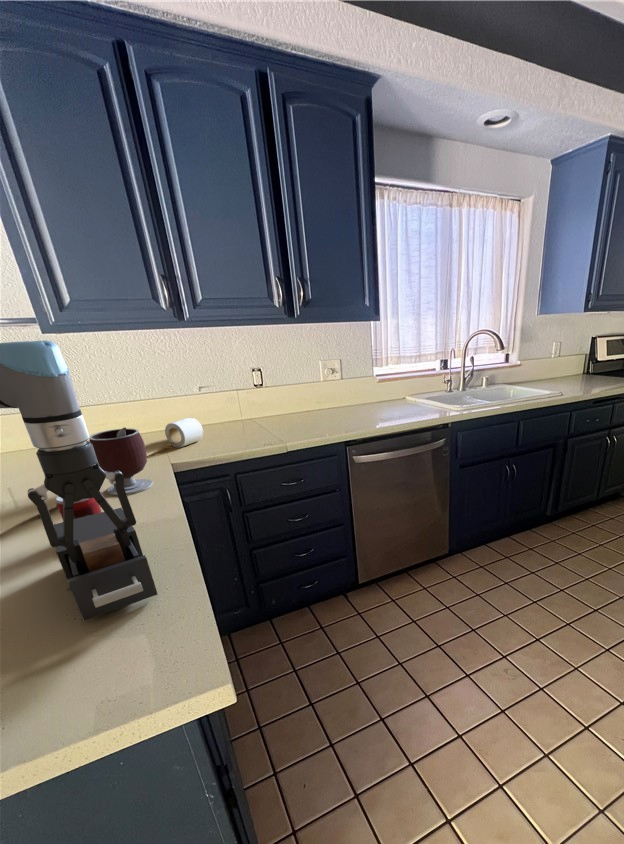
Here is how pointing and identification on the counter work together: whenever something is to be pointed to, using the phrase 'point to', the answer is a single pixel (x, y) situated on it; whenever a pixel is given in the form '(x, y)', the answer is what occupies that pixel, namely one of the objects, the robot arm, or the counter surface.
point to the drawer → (111, 585)
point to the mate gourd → (122, 457)
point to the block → (102, 552)
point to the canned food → (81, 507)
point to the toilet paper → (183, 432)
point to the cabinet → (92, 534)
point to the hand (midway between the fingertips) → (108, 568)
